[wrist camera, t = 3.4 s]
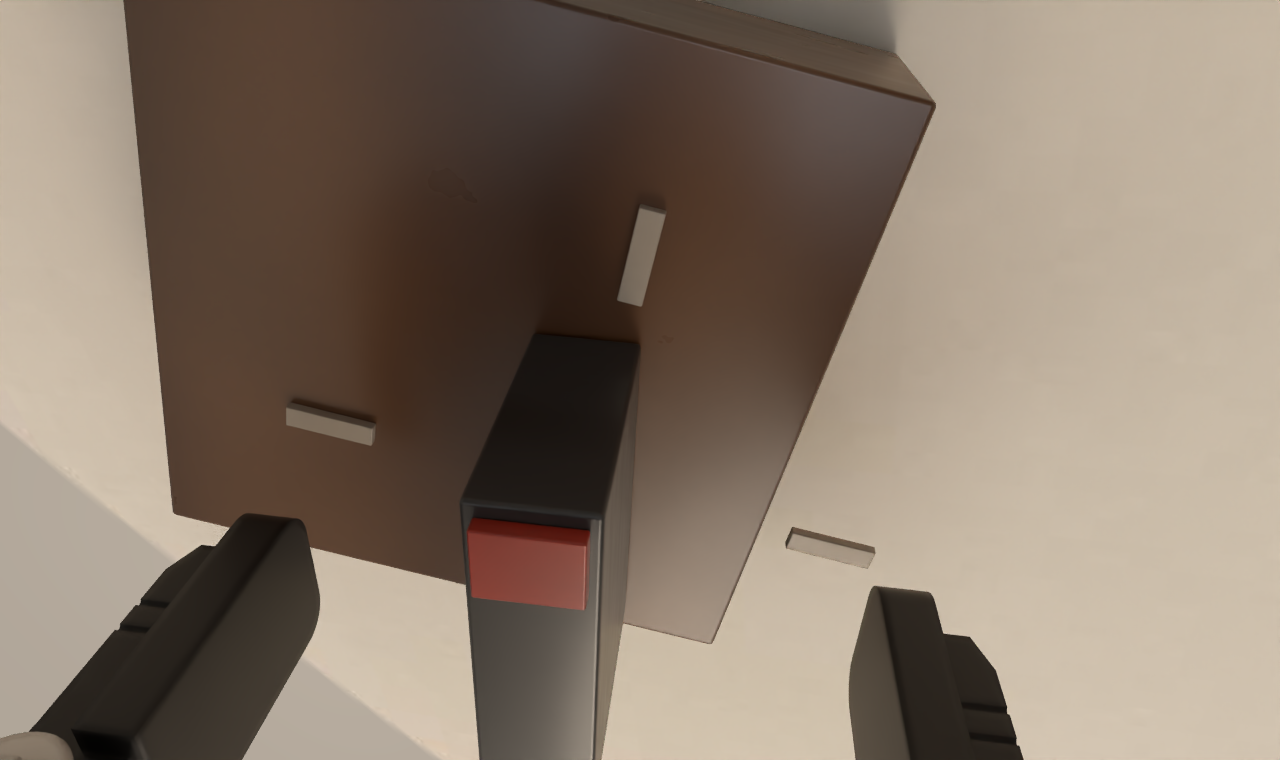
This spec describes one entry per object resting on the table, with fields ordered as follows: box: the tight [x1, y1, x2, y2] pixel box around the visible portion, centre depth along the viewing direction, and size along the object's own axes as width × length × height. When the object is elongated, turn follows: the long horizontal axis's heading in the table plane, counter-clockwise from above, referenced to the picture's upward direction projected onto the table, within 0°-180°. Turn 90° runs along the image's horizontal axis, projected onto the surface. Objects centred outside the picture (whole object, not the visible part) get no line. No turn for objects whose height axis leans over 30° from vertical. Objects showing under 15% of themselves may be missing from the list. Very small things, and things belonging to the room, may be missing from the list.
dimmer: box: [124, 0, 936, 644], centre depth 14 cm, size 12×12×3 cm
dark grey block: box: [459, 334, 641, 760], centre depth 12 cm, size 6×2×4 cm, turn 177°
